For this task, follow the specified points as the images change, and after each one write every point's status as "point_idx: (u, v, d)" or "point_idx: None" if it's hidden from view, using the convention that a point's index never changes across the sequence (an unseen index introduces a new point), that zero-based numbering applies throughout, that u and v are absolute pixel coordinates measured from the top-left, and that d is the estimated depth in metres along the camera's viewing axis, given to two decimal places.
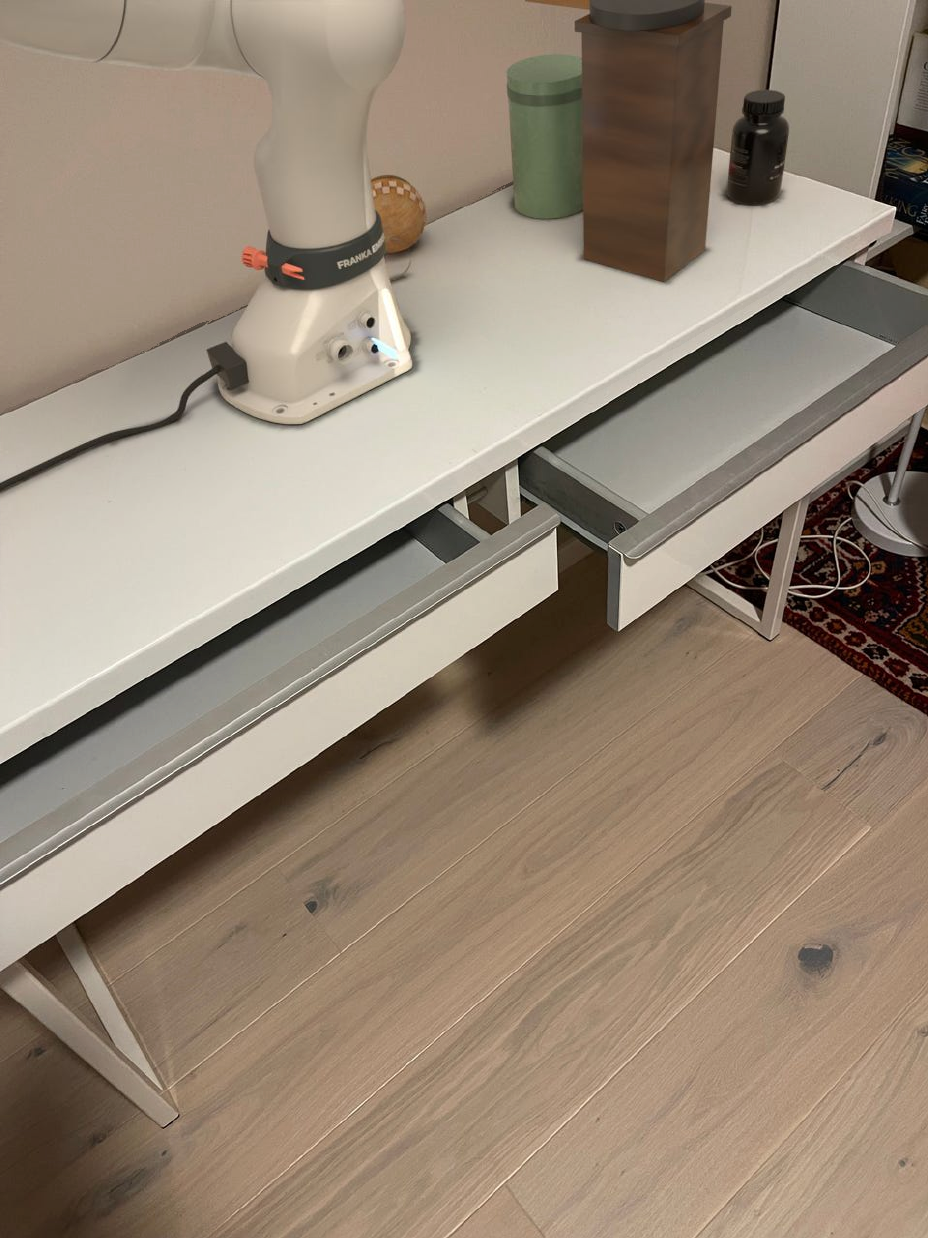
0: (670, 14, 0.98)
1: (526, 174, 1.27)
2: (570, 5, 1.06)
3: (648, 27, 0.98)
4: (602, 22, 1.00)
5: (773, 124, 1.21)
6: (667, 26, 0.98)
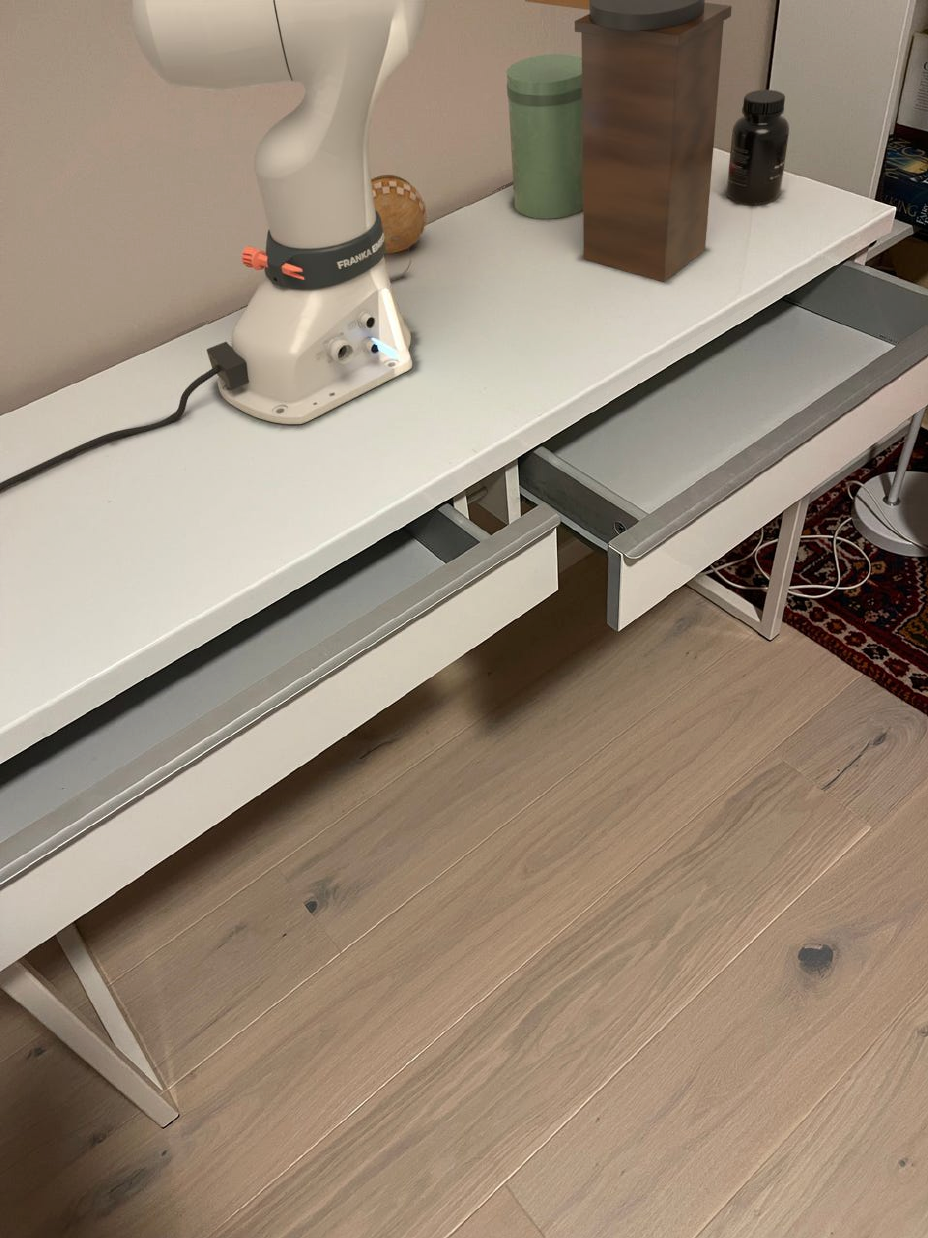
0: (670, 14, 0.98)
1: (526, 174, 1.27)
2: (570, 5, 1.06)
3: (648, 27, 0.98)
4: (602, 22, 1.00)
5: (773, 124, 1.21)
6: (667, 26, 0.98)
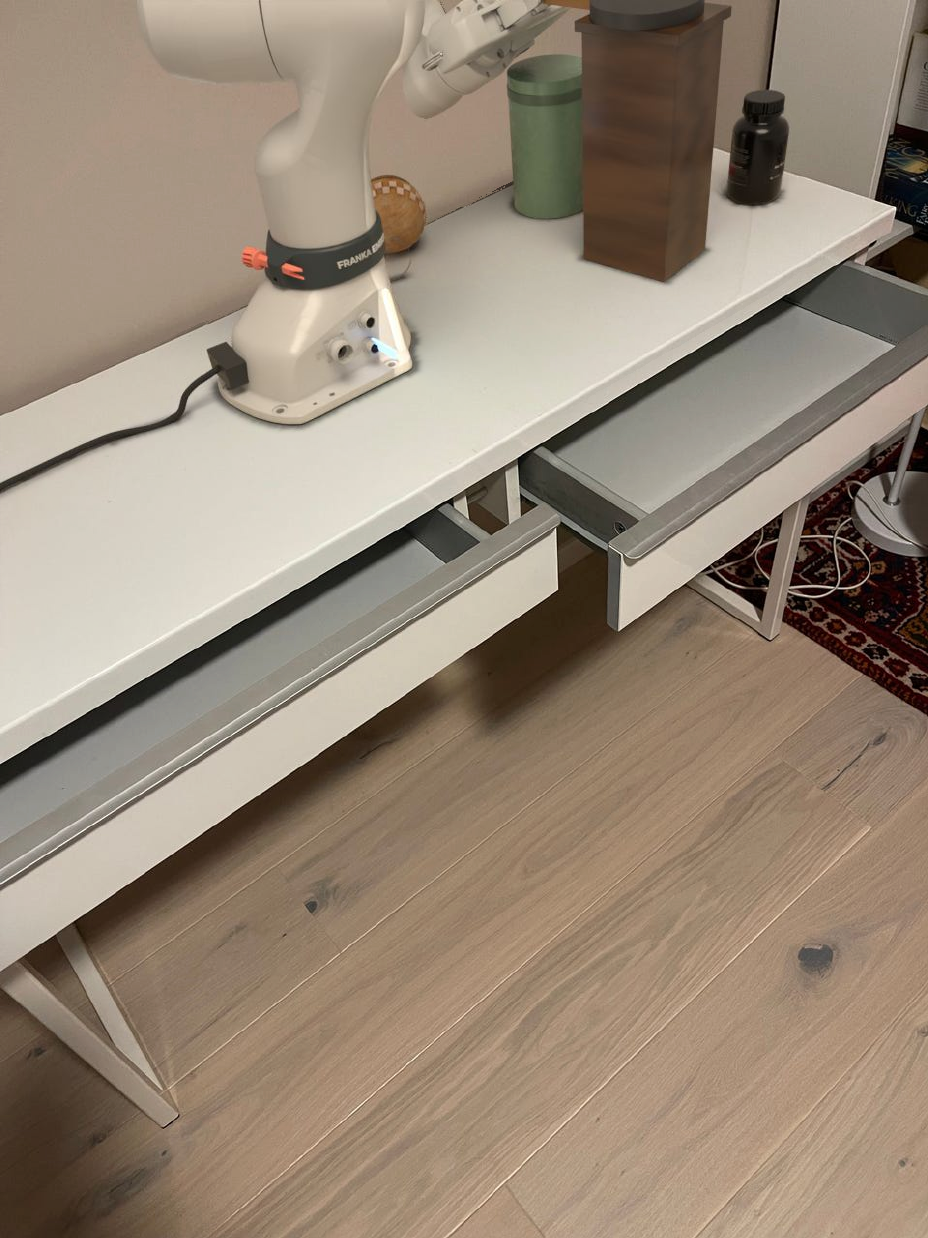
0: (670, 14, 0.98)
1: (526, 174, 1.27)
2: (570, 5, 1.06)
3: (648, 27, 0.98)
4: (602, 22, 1.00)
5: (773, 124, 1.21)
6: (667, 26, 0.98)
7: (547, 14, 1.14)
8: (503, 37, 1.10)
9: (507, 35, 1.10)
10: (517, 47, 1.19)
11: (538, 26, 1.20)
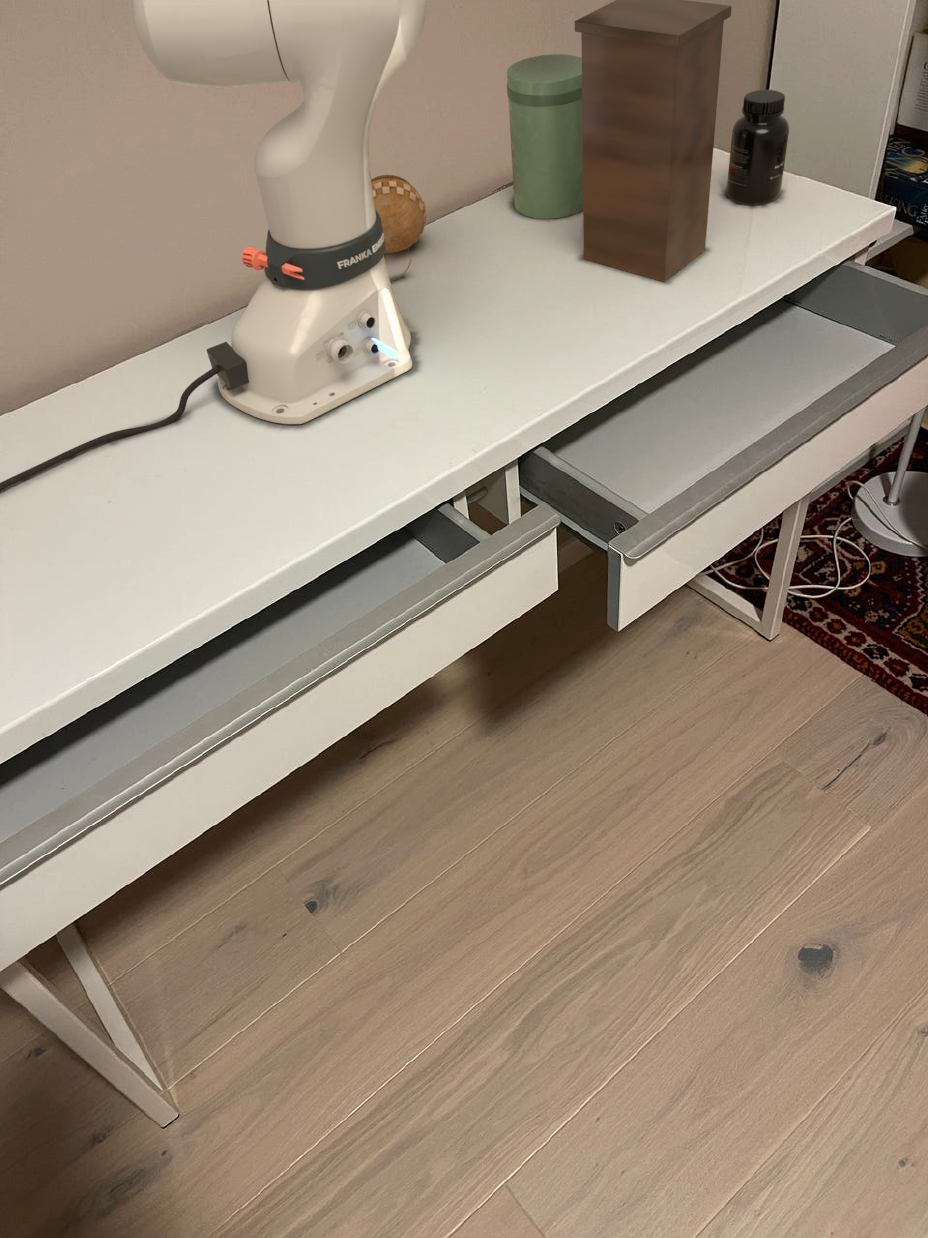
0: None
1: (526, 174, 1.27)
2: None
3: None
4: None
5: (773, 124, 1.21)
6: None
7: None
8: None
9: None
10: None
11: None
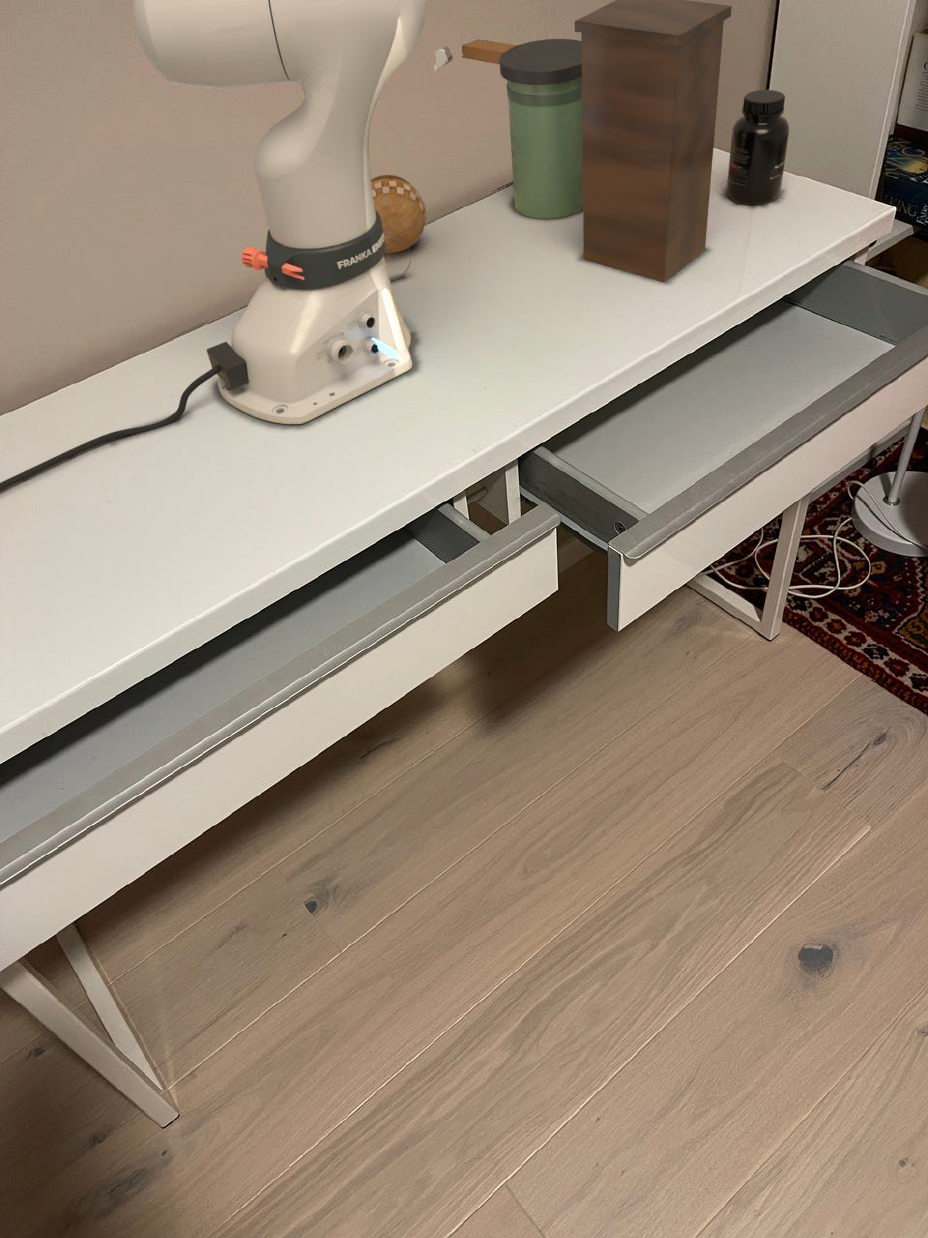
0: (564, 71, 1.17)
1: (526, 174, 1.27)
2: (485, 60, 1.25)
3: (546, 82, 1.17)
4: (508, 77, 1.19)
5: (773, 124, 1.21)
6: (561, 81, 1.18)
7: None
8: None
9: None
10: None
11: None
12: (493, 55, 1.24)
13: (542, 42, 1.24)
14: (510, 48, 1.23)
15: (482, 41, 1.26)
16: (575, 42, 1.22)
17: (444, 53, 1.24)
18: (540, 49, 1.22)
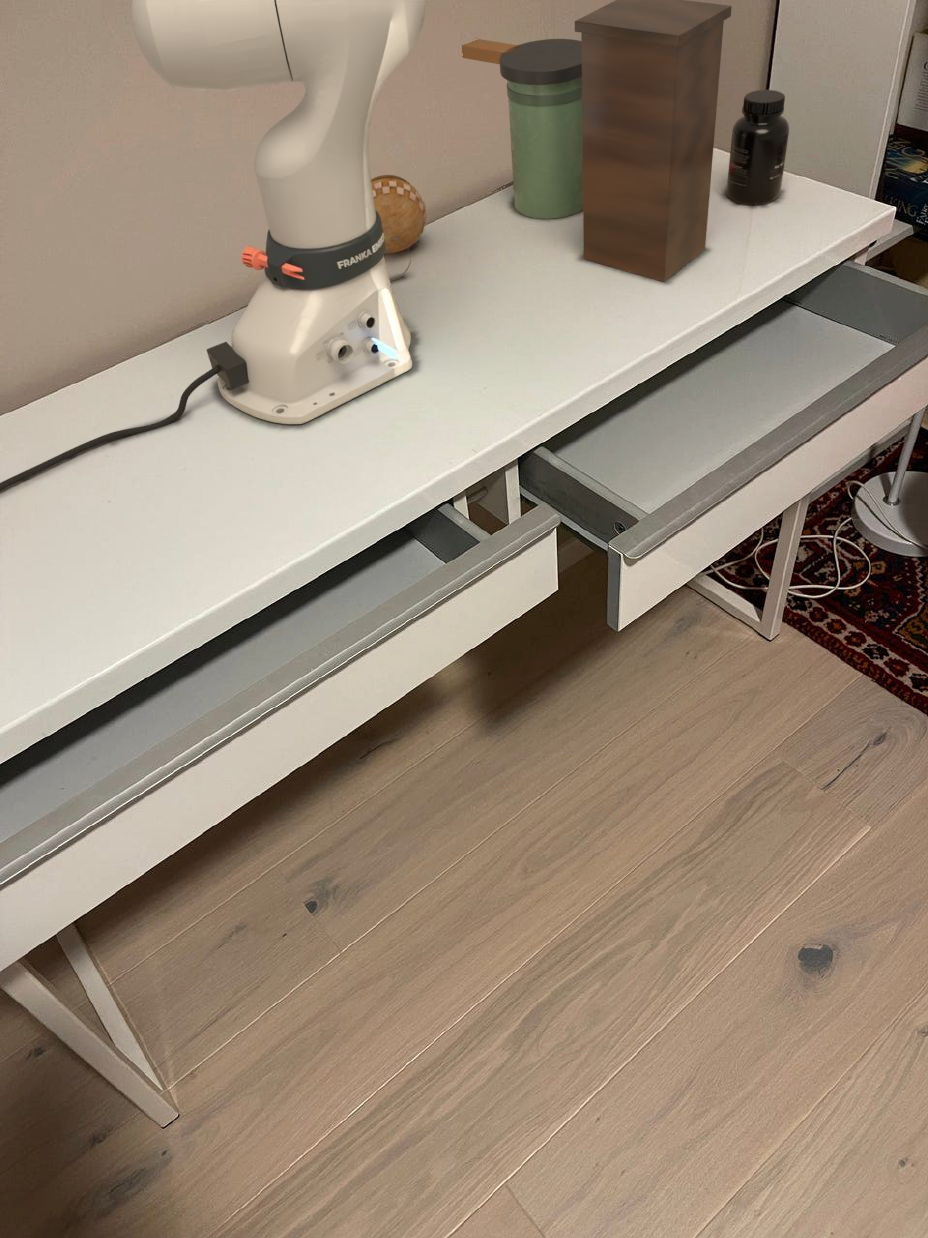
0: (564, 71, 1.17)
1: (526, 174, 1.27)
2: (485, 60, 1.25)
3: (546, 82, 1.17)
4: (508, 77, 1.19)
5: (773, 124, 1.21)
6: (561, 81, 1.18)
7: None
8: None
9: None
10: None
11: None
12: (493, 55, 1.24)
13: (542, 42, 1.24)
14: (510, 48, 1.23)
15: (482, 41, 1.26)
16: (575, 42, 1.22)
17: None
18: (540, 49, 1.22)
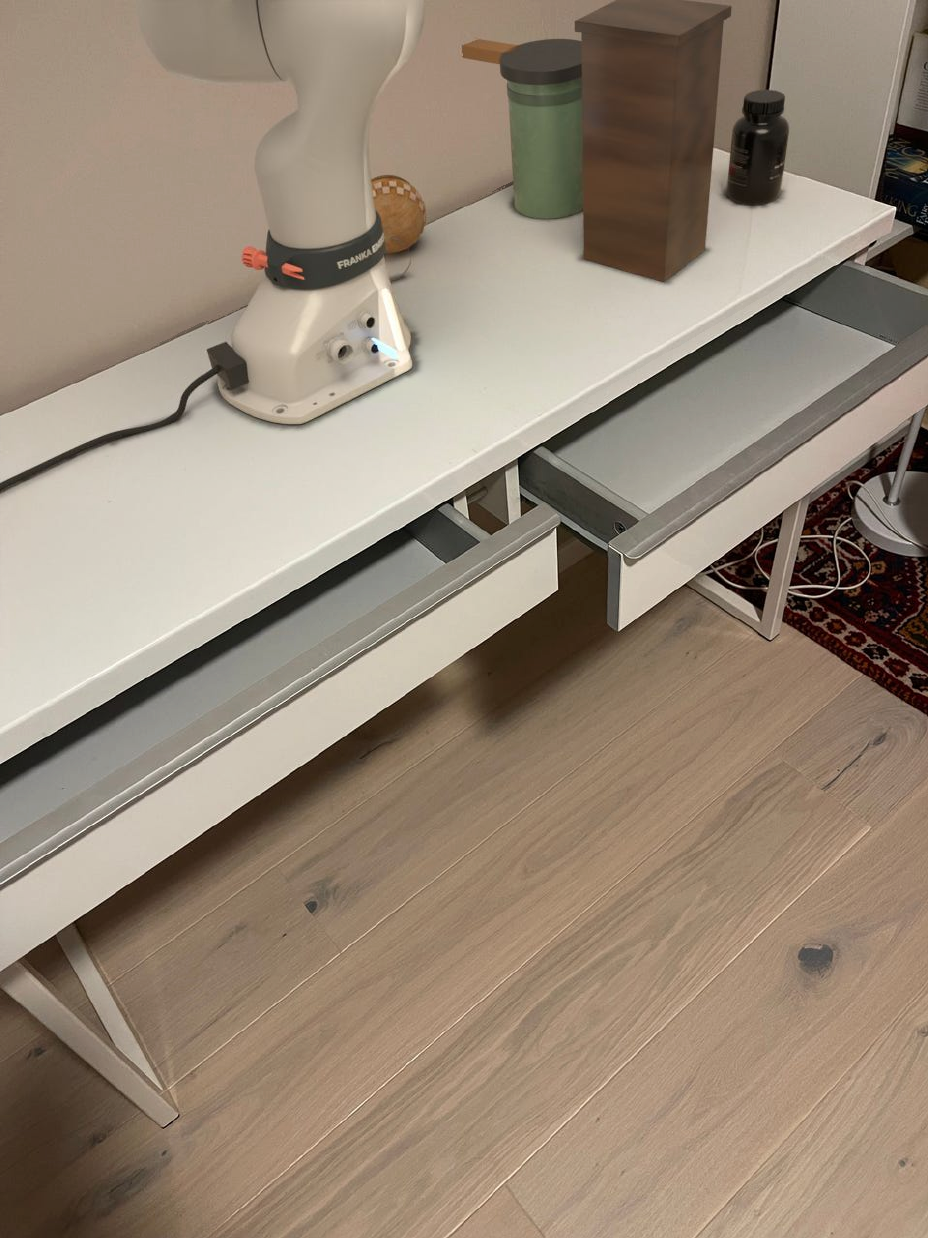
0: (564, 71, 1.17)
1: (526, 174, 1.27)
2: (485, 60, 1.25)
3: (546, 82, 1.17)
4: (508, 77, 1.19)
5: (773, 124, 1.21)
6: (561, 81, 1.18)
7: None
8: None
9: None
10: None
11: None
12: (493, 55, 1.24)
13: (542, 42, 1.24)
14: (510, 48, 1.23)
15: (482, 41, 1.26)
16: (575, 42, 1.22)
17: None
18: (540, 49, 1.22)
